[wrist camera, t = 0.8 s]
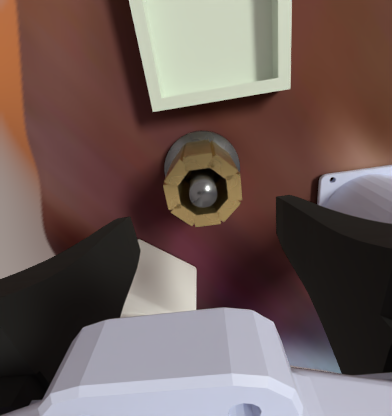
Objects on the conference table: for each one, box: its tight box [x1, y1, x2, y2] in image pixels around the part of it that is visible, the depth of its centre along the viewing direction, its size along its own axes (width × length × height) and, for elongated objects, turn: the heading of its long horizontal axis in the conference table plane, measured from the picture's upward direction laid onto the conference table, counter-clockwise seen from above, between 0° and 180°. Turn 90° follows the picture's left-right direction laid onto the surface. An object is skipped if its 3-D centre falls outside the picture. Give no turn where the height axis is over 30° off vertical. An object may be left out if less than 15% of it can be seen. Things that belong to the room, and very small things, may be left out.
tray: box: [129, 0, 292, 112], centre depth 15 cm, size 10×10×2 cm
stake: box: [164, 131, 240, 208], centre depth 18 cm, size 6×6×6 cm
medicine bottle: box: [120, 239, 197, 318], centre depth 20 cm, size 7×7×12 cm
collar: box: [163, 139, 242, 227], centre depth 18 cm, size 5×6×5 cm
